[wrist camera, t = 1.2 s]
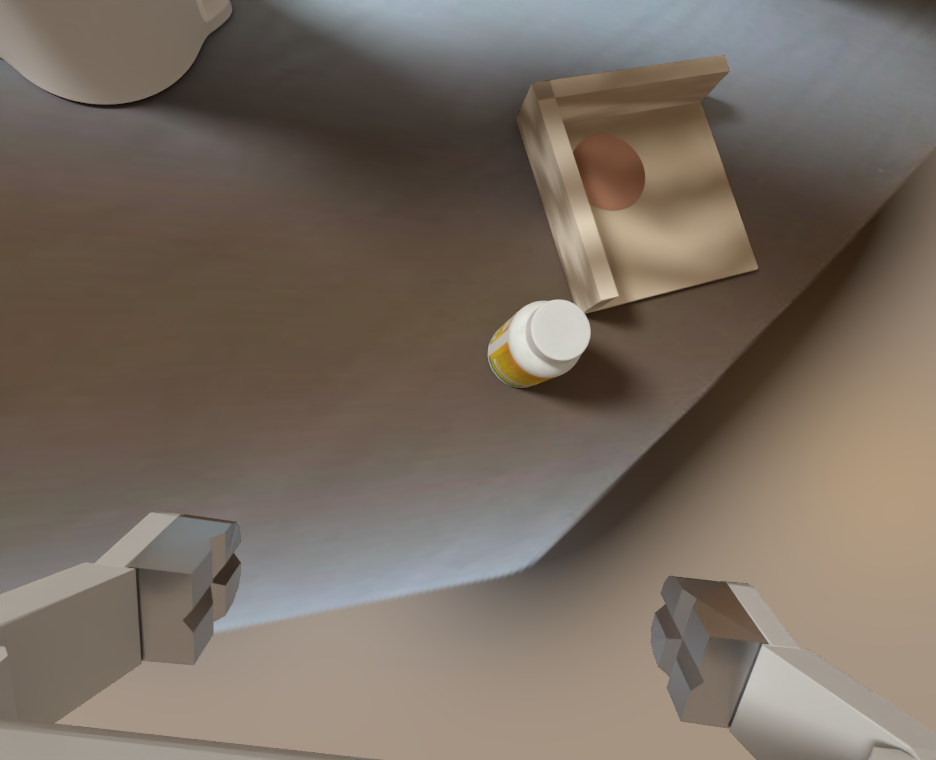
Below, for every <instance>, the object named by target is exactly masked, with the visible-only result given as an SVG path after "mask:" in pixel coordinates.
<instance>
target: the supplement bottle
mask: <svg viewBox="0 0 936 760" xmlns="http://www.w3.org/2000/svg"><path fill="white" fill-rule="evenodd" d="M590 335H591V330H590V324H589V321H588V318H587V317H586V315H585V313H584V312H583V311H582V310H581V309H580V308H579V307H578V306H577V305H575V304H574V303H572V302H569V301H566V300H552V301H537V302H533V303H531V304H528V305H526V306H525V307H523V308H522V309H520V310H519V311H518V312H517V313H516V314H515V315H514V316H513V317H511V318H510V319H509V320H508V321H507V322H506V323H505V324H504V325H503V326H501V327H500V328H499V330H497V331H496V333H495V334H494V335H493V337H492V338H491V341H490V343H489V347H488V360H489V364H490V366H491V368H492V370H493V372H494V373H495V375H496V376H497V377H498V378H499V379H500V380H501V381H502V382H504V383H505V384H507V385H510V386H512V387H517V388H527V387H530V386H534V385H536V384H539V383H542V382H544V381H547V380H549V379H552V378H555V377H557V376H560V375H562V374H564V373H566V372H567V371H569V370H570V369H571V368H572V367H573V366H574V365H575V364H576V363H577V361H578V360H579V358H580V356H581V354H582V353H583V352H584V350H585V349H586V348H587V346H588V343H589V341H590Z"/></svg>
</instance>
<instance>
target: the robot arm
mask: <svg viewBox="0 0 936 760" xmlns="http://www.w3.org/2000/svg"><path fill="white" fill-rule="evenodd" d="M231 13H232V5H231V2H230V0H0V58H2V59H3V60H5V61H6V62H8V63H9V64H10V65H11V66H13V67H14V68H15V69H16V70H17V71H18V72H20V73H21V74H22V75H23V76H24V77H25V78H27V79H28V80H29V81H31V82H32V83H34V84H35V85H37V86H39V87H41V88H42V89H44V90H46V91H48V92H50V93H52V94H55V95H57V96H60V97H63V98H66V99H70V100H73V101H78V102H83V103H90V104H121V103H128V102H133V101H137V100H141V99H144V98H147V97H150V96H152V95H154V94H157V93H159V92H161V91H162V90H164V89H166V88H168V87H169V86H171V85H172V84H173V83H175V82H176V81H177V80H178V79H179V78H181V77H182V76H183V75H184V74H185V73H186V71H187V70H188V69H189V68H190V66H191V65H192V64H193V62H194V60H195V59H196V57H197V55H198V53H199V51H200V49H201V47H202V44H203V42H204V41H205V39H206V38H207V36H208V35H209V34H210V33H212V32H213V31H214V30H216V29H217V28H218V27H219V26H221V25H222V24H223V23H224V22H225V21H226V20H227V19H228V18H229V17H230V15H231ZM240 543H241V530H240V526H239V524H238V523H237V522H234V521H227V520H220V519H214V518H207V517H200V516H193V515H186V514H185V515H183V514H179V513H171V512H162V511H156V512H151V513H150V514H148V515H147V516H146V517H145V518H144V519H143V520H142V521H141V522H139V523H138V524H137V525H136V526H135V527H134V528H133V529H132V530H131V531H129V532H128V533H127V534H126V535H125V536H124V537H123V538H122V539H121V540H120V541H118V542H117V543H116V544H115V545H114V546H113V547H112V548H111V549H110V550H108V551H107V552H106V553H105V554H104V555H103V556H102V557H101V558H100V559H99V560H97V561H96V562H95V563H94V564H93V563H82V564H80V565H77V566H74V567H72V568H69V569H66V570H64V571H61V572H58V573H56V574H53V575H50V576H48V577H45V578H42V579H40V580H37V581H34V582H32V583H29V584H26V585H24V586H21V587H18V588H16V589H13V590H10V591H8V592H5V593H2V594H0V760H379V759H370V758H361V757H351V756H341V755H333V754H324V753H315V752H306V751H297V750H288V749H279V748H270V747H261V746H252V745H243V744H233V743H225V742H216V741H207V740H198V739H189V738H180V737H171V736H162V735H153V734H143V733H135V732H126V731H116V730H107V729H99V728H90V727H81V726H72V725H62V724H54V723H55V722H57V721H58V720H60V719H61V718H63V717H64V716H66V715H67V714H69V713H70V712H71V711H73V710H74V709H76V708H77V707H79V706H80V705H81V704H83V703H85V702H86V701H88V700H89V699H90V698H92V697H93V696H95V695H96V694H97V693H99V692H101V691H102V690H104V689H105V688H107V687H108V686H110V685H111V684H112V683H114V682H115V681H117V680H118V679H120V678H121V677H123V676H124V675H126V674H127V673H128V672H130V671H131V670H133V669H134V668H136V667H137V666H139V665H140V664H141V663H142V662H141V661H151V662H163V663H175V664H187V665H194V664H195V663H196V661H197V660H198V658H199V656H200V655H201V653H202V651H203V650H204V648H205V647H206V645H207V644H208V642H209V640H210V639H211V637H212V636H213V622H214V621H216V620H218V619H220V618H221V617H223V616H225V615H226V613H227V612H228V610H229V608H230V607H231V605H232V603H233V601H234V598H235V595H236V592H237V589H238V586H239V580H240V574H241V562H240V561H239V559H238V558H237V557H236V555H235V554H234V551H235V550H236V548H237V547H238V546H239V544H240ZM661 595H662V597H663V599H664V601H665V603H666V604H665V605H664V606H663V607H662V608H661V609H659V610H658V611H657V612H655V615H654V619H653V623H652V627H651V644H652V649H653V654H654V657H655V659H656V662H657V665H658V667H659V668H661V670H663V671H664V672H665V673H666V674H667V675H668V676H669V677H670V679H669V682H668V685H667V689H668V692H669V694H670V697H671V699H672V701H673V704H674V706H675V709H676V711H677V713H678V716H679V718H680V721H682V722H689V723H696V724H703V725H709V726H716V727H723V728H730V730H729V731H730V732H731V733H732V734H733V735H734V736H735V737H736V739H737V740H738V741H739V742H740V743H741V744H742V745H743V746H744V747H745V748H746V749H747V750H748V751H749V752H750V753H751V754H752V756H753V757H754V758H755V759H756V760H936V733H935V732H933V731H932V730H930V729H929V728H927V727H926V726H924V725H923V724H921V723H920V722H918V721H917V720H915V719H914V718H912V717H910V716H909V715H907V714H906V713H904V712H903V711H901V710H900V709H898V708H897V707H895V706H894V705H892V704H891V703H889V702H888V701H886V700H885V699H883V698H881V697H880V696H879V695H877V694H875V693H874V692H873V691H871V690H870V689H868V688H867V687H865V686H863V685H862V684H860V683H859V682H857V681H856V680H854V679H853V678H851V677H850V676H848V675H847V674H845V673H844V672H842V671H841V670H839V669H838V668H836V667H835V666H833V665H831V664H830V663H829V662H827V661H826V660H824V659H822V658H821V657H819V656H818V655H816V654H815V653H813V652H812V651H810V650H808V649H800V647H799V646H798V645H797V643H796V642H795V641H794V639H793V638H792V637H791V635H789V633H788V631H787V630H786V629H785V628H784V626H783V625H782V624H781V622H780V621H779V620H778V618H777V617H776V616H775V614H774V613H773V612H772V611H771V609H770V608H769V607H768V605H767V604H766V603H765V601H764V600H763V599H762V597H761V596H760V595H759V593H758V592H757V591H756V589H755V588H754V587H752V586H750V585H749V584H747V583H738V582H727V581H720V582H719V581H710V580H701V579H692V578H683V577H674V576H669V577H668V578H667V579H666V581H665V582H664V585H663V588H662V591H661Z"/></svg>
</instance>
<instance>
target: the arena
mask: <svg viewBox="0 0 936 760" xmlns="http://www.w3.org/2000/svg"><path fill="white" fill-rule="evenodd" d="M729 71H730V70H729V67H728V64H727V61H726V58H725V56H724V55H721V56H714V57H707V58H700V59H694V60H687V61H680V62H673V63H666V64H659V65H652V66H645V67H638V68H631V69H624V70H617V71H610V72H603V73H597V74H590V75H583V76H576V77H569V78H562V79H555V80H548V81H541V82H534V83H532V84H531V86H530V89H529V91H528V93H527V95H526V98H525V100H524V102H523V104H522V107H521V109H520V111H519V113H518V116H517V118H516V120H517V123H518V127H519V130H520V133H521V136H522V139H523V143H524V146H525V149H526V152H527V155H528V158H529V162H530V165H531V168H532V171H533V174H534V178H535V181H536V184H537V187H538V190H539V194H540V197H541V200H542V203H543V206H544V210H545V213H546V216H547V219H548V222H549V225H550V229H551V232H552V235H553V238H554V241H555V245H556V248H557V251H558V254H559V257H560V261H561V264H562V267H563V270H564V273H565V277H566V280H567V283H568V286H569V289H570V292H571V296H572V299H573V302H574V304H575V305H577V306H578V307H579V308H580V309H581V310H582V311H583V312H584V313H585V314H587V313H591V312H595V311H599V310H603V309H606V308H610V307H614V306H618V305H622V304H626V303H630V302H634V301H638V300H642V299H645V298H649V297H653V296H657V295H661V294H665V293H669V292H673V291H677V290H681V289H684V288H688V287H692V286H696V285H700V284H704V283H708V282H712V281H716V280H720V279H723V278H727V277H731V276H735V275H739V274H743V273H747V272H751V271H755V270H757V269H759V268H758V266H757V263H756V260H755V257H754V254H753V251H752V248H751V245H750V242H749V240H748V237H747V234H746V231H745V228H744V225H743V222H742V219H741V216H740V213H739V211H738V208H737V205H736V202H735V199H734V196H733V193H732V190H731V187H730V185H729V182H728V179H727V176H726V173H725V170H724V167H723V164H722V161H721V159H720V156H719V153H718V150H717V147H716V144H715V141H714V138H713V135H712V133H711V130H710V127H709V124H708V121H707V118H706V115H705V112H704V109H703V107H702V104H701V101H702V100H703V99H704V98H705V97H706V96H707V95H708V94H709V93H710V91H711V90H712V89H713V88H714V87H715V86H716V85H717V84H718V83H719V82H720V81H721V80H722V79H723V78H724V77H725V76H726V75H727V74H728V72H729Z"/></svg>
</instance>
